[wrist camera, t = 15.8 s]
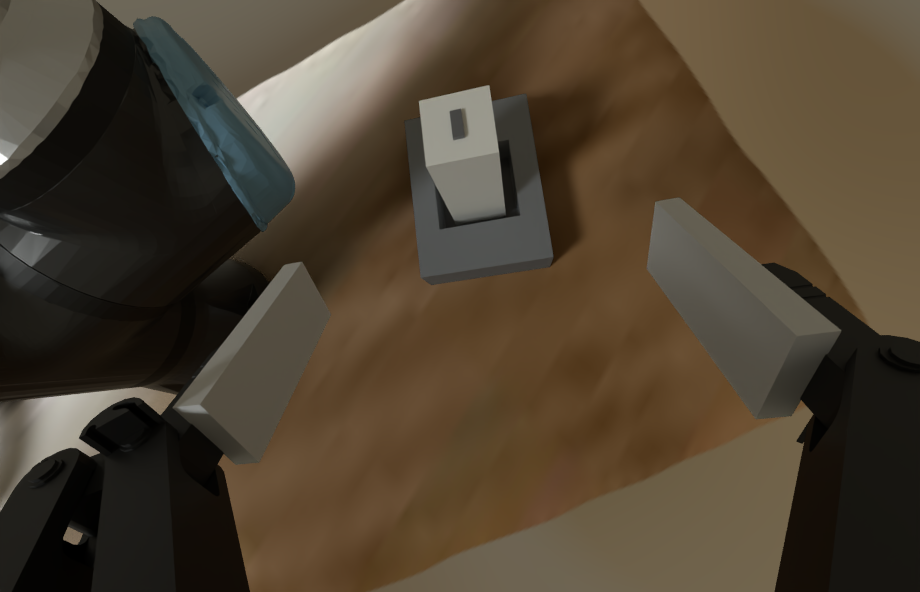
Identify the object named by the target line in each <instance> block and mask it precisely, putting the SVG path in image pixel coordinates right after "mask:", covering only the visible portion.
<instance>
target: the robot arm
mask: <svg viewBox="0 0 920 592" xmlns="http://www.w3.org/2000/svg"><path fill="white" fill-rule="evenodd" d="M133 25H134V29H131V28H129V27H127V26H125V25H124V24H122V23H121V22H120V21H119V20H118V19H117V18H115V17H114V16H113V15H112V14H110V13H109V12H108V11H107V10H106V9H105V8H104V7H102V6H101V5H100V4H99V3H98V2H96V0H0V402H8V401H17V400H26V399H35V398H44V397H53V396H62V395H71V394H80V393H89V392H99V391H108V390H117V389H125V388H134V387H144V388H148V389H153V390H158V391H162V392H167V393H171V394H176V395H177V396H176V397H175V398H174V399H173V401H172V402H171V403H170V404H169V406H168V407H167V408H166V409H165V411H164V412H163V413H162V415H161V416H160V415H159V414H158V413H157V412H156V411H154V410H153V409H152V408H151V407H150V406H149V405H147V404H146V403H145V402H144V401H143V400H142V399H140V398H135V397H133V398H128V399H124V400H122V401H120V402H117V403H115V404H113V405H111V406H110V407H108V408H107V409H105V410H103V411H102V412H101V413H99V414H98V415H97V416H96V417H95V418H93V419H92V420H91V421H90V422H89V423H88V425H87V426H86V427H85V428H84V429H83V430H82V433H81V435H80V437H79V439H81V440H82V441H84V442H85V443H87V444H88V445H90V446H91V447H93V448H94V449H96V450H97V451H99V452H100V453H99V454H97V455H94V456H92V457H89V456H87V455H86V454H84V453H83V452H81V451H80V450H78V449H77V448H68V449H65V450H62V451H59V452H57V453H55V454H53V455H52V456H50V457H47V458H45V459H44V460H42V461H41V463H40V462H39V463H38V464H37V465H35V466H34V467H33V468H32V469H31V471H30V472H28V473H27V474H26V475H25V476H24V477H23V478H22V480H21V481H20V482H19V483H18V485H17V486H16V487H15V489H14V491H13V492H12V494H11V495H10V497H9V499H8V500H7V502H6V503H5V505H4V507H3V508H2V510H1V512H0V592H250V590H249V585H248V581H247V576H246V571H245V567H244V562H243V558H242V553H241V548H240V544H239V539H238V534H237V530H236V525H235V520H234V516H233V511H232V507H231V502H230V497H229V493H228V488H227V483H226V479H225V474H224V471H223V470H222V468H221V467H220V466H219V465H218V462H219V461H220V459H221V457H222V456H223V454H225V455H226V456H227V457H228V458H229V459H230V460H231V461H232V462H233V463H235V464H247V463H259V462H260V460H261V458H262V456H263V454H264V452H265V450H266V448H267V446H268V443H269V441H270V439H271V437H272V435H273V433H274V431H275V429H276V427H277V425H278V423H279V421H280V419H281V417H282V415H283V413H284V411H285V408H286V406H287V404H288V402H289V400H290V398H291V396H292V394H293V392H294V390H295V388H296V386H297V384H298V382H299V380H300V378H301V375H302V373H303V371H304V369H305V367H306V365H307V363H308V361H309V359H310V357H311V355H312V353H313V351H314V349H315V347H316V345H317V343H318V340H319V338H320V336H321V334H322V332H323V330H324V328H325V326H326V324H327V322H328V320H329V318H330V316H331V314H330V312H329V310H328V308H327V306H326V304H325V303H324V301H323V299H322V297H321V295H320V293H319V292H318V290H317V288H316V286H315V284H314V282H313V280H312V279H311V277H310V275H309V273H308V271H307V269H306V268H305V266H304V264H303V262H297V263H291V264H285V265H284V266H283V267H282V268H281V270H280V271H279V272H278V274H277V275H276V276H275V277H274V279H273V280H272V281H271V282H270V284H269V283H268V281H267V280H266V279H265V277H264V276H263V275H262V274H261V273H260V272H259V271H257V270H256V269H254V268H253V267H251V266H249V265H247V264H245V263H242V262H239V261H236V260H232V259H229V258H230V257H231V256H232V255H234V254H235V253H236V252H237V251H238V250H239V249H241V248H242V247H243V246H244V245H245V244H246V243H248V242H249V241H250V240H251V239H252V238H253V237H254V236H256V235H257V234H258V233H259V232H260V231H261V232H264V231H265V230H266V229H267V227H268V226H267V224H268V223H269V222H270V221H271V220H272V219H273V218H274V217H275V216H276V215H277V214H278V213H279V212H280V211H281V210H282V209H283V208H284V207H285V206H286V205H287V204H288V203H289V202H290V201H291V200H292V198H293V196H294V193H295V181H294V177H293V175H292V173H291V171H290V169H289V167H288V166H287V164H286V163H285V161H284V160H283V158H282V157H281V155H280V154H279V153H278V151H277V150H276V149H275V147H274V146H273V145H272V143H271V142H270V141H269V139H268V138H267V137H266V135H265V134H264V133H263V131H262V130H261V129H260V128H259V126H258V125H257V124H256V123H255V121H254V120H253V119H252V118H251V116H250V115H249V114H248V113H247V111H246V110H245V109H244V108H243V107H242V105H241V104H240V103H239V102H238V101H237V99H236V98H235V97H234V96H233V94H232V93H231V92H230V91H229V90H228V88H227V87H226V86H225V85H224V84H223V83H222V81H221V80H220V79H219V78H218V77H217V76H216V74H215V73H214V72H213V71H212V70H211V69H210V67H209V66H208V65H207V64H206V63H205V62H204V61H203V60H202V58H200V56H199V55H198V54H197V53H196V52H195V51H194V50H193V48H192V47H191V46H190V45H189V44H188V43H187V42H186V41H185V40H184V39H183V38H181V37H180V36H179V35H178V34H177V33H176V32H175V31H174V30H173V29H172V27H171V26H170V25H169V24H168V23H166V22H165V21H164V20H162V19H161V18H158V17H153V16H152V17H149V18H147V19H145V20H143V19H137V20H136V21H135V22H134V23H133ZM647 270H648V271H649V272H650V274H651V275H652V277H653V278H654V279H655V281H656V282H657V283H658V285H659V286H660V288H661V289H662V290H663V292H664V293H665V294H666V296H667V297H668V299H669V300H670V301H671V303H672V304H673V306H674V307H675V308H676V310H677V311H678V312H679V314H680V315H681V317H682V318H683V319H684V321H685V322H686V323H687V325H688V326H689V328H690V329H691V330H692V332H693V333H694V334H695V336H696V337H697V339H698V340H699V341H700V343H701V344H702V346H703V347H704V348H705V350H706V351H707V352H708V354H709V355H710V357H711V358H712V359H713V361H714V362H715V363H716V365H717V366H718V368H719V369H720V370H721V372H722V373H723V374H724V376H725V377H726V379H727V380H728V381H729V383H730V384H731V386H732V387H733V388H734V390H735V391H736V392H737V394H738V395H739V397H740V398H741V399H742V401H743V402H744V403H745V405H746V406H747V408H748V409H749V410H750V412H751V413H752V415H753V416H754V417H755V419H764V418H775V417H787V416H792V414H793V413H794V411H795V409H796V408H797V406H798V404H799V402H800V401H801V400H802V401H803V402H804V404H805V405H806V406H807V407H808V408H809V409H810V410H811V411H812V413H813V414H814V415H813V416H812V418H811V419H810V421H809V422H808V424H807V425H806V427H805V428H804V430H803V432H802V433H801V435H800V436H799V438H798V439H797V442H799V443H803V442H804V446H803V451H802V456H801V461H800V467H799V471H798V476H797V481H796V487H795V491H794V496H793V501H792V507H791V512H790V517H789V522H788V527H787V532H786V537H785V542H784V547H783V552H782V557H781V562H780V567H779V572H778V577H777V582H776V587H775V592H920V342H918V341H915V340H912V339H909V338H904V337H897V336H891V335H879V334H878V333H876V332H875V331H874V330H873V329H871V328H870V327H869V326H867V325H866V324H865V323H863V322H862V321H861V320H859V319H858V318H857V317H855V316H854V315H853V314H851V313H850V312H849V311H847V310H846V309H845V308H843V307H842V306H841V305H839V304H838V303H837V302H835V301H834V300H833V299H831V298H830V297H826V294H825V293H824V292H822V291H821V290H820V289H818V288H817V287H813V286H812V283H810V282H809V281H808V280H806V279H805V278H804V277H802V276H801V275H800V274H798V273H797V272H795V271H793V270H790V269H788V268H786V267H783V266H781V265H778V264H776V263H768V264H760V263H759V262H757V261H756V260H755V259H754V258H753V257H751V256H750V255H749V254H748V253H746V252H745V251H744V250H743V249H742V248H740V247H739V246H738V245H737V244H735V243H734V242H733V241H732V240H731V239H729V238H728V237H727V236H726V235H725V234H723V233H722V232H721V231H720V230H718V229H717V228H716V227H715V226H714V225H712V224H711V223H710V222H709V221H707V220H706V219H705V218H704V217H703V216H701V215H700V214H699V213H698V212H697V211H695V210H694V209H693V208H692V207H690V206H689V205H688V204H687V203H686V202H684V201H683V200H682V199H681V198H680V197H679V198H673V199H667V200H661V201H656V202H655V209H654V217H653V225H652V232H651V240H650V247H649V255H648V263H647ZM67 527H70V528H72V529H74V530H76V531H78V532H81V533H83V535H82V538H81V540H80V542H79V543H78V545H73V544H71V543H69V542H67V541H64V540H63V536H64V534H65V532H66V530H67Z"/></svg>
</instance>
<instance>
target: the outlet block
mask: <svg viewBox="0 0 920 592" xmlns="http://www.w3.org/2000/svg"><path fill="white" fill-rule="evenodd" d="M492 107H493V114H494V121H495V128H496V135H497V142H498V149H499V157H500V166H501V175H502V184H503V194H504V203H505V212H506V217H501V218H495V219H489V220H483V221H477V222H472V223H466V224H460V225H456V223H455V221H454V219H453V217H452V215H451V214H450V212H449V210H448V208H447V206H446V204H445V202H444V200H443V198H442V196H441V194H440V193H439V191H438V189H437V187H436V185H435V183H434V181H433V179H432V177H431V175H430V173H429V171H428V170H427V168H426V162H425V153H424V144H423V135H422V126H421V117H419V118H414V119H410V120H405V121H404V122H405V131H406V141H407V150H408V160H409V169H410V179H411V189H412V198H413V208H414V217H415V227H416V236H417V246H418V255H419V265H420V274H421V278H422V279H424V280H425V281H426V282H428V283H429V284H431V285H434V284H441V283H448V282H454V281H461V280H467V279H474V278H480V277H487V276H494V275H500V274H507V273H513V272H520V271H526V270H533V269H540V268H546V267H550V265H551V262H552V260H553V251H552V245H551V239H550V233H549V227H548V221H547V215H546V209H545V203H544V197H543V191H542V185H541V179H540V173H539V167H538V161H537V155H536V149H535V143H534V137H533V131H532V125H531V119H530V113H529V107H528V101H527V95H526V94H522V95H517V96H513V97H508V98H504V99H499V100H495V101H492Z"/></svg>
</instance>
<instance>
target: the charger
mask: <svg viewBox="0 0 920 592" xmlns="http://www.w3.org/2000/svg"><path fill="white" fill-rule="evenodd" d="M419 107H420V117H421V126H422V135H423V144H424V153H425V162H426V168H427V170H428V171H429V173H430V175H431V177H432V179H433V181H434V183H435V185H436V187H437V189H438V191H439V193H440V194H441V196H442V198H443V200H444V202H445V204H446V206H447V208H448V210H449V212H450V214H451V215H452V217H453V219H454V221H455V223H456V225H460V224H466V223H472V222H477V221H483V220H489V219H495V218H501V217H506V212H505V203H504V194H503V184H502V175H501V166H500V157H499V149H498V142H497V135H496V128H495V121H494V114H493V107H492V100H491V94H490V87H489V85H487V86H483V87H478V88H474V89H470V90H465V91H461V92H456V93H452V94H447V95H443V96H439V97H434V98H430V99H425V100H421V101H419Z"/></svg>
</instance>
